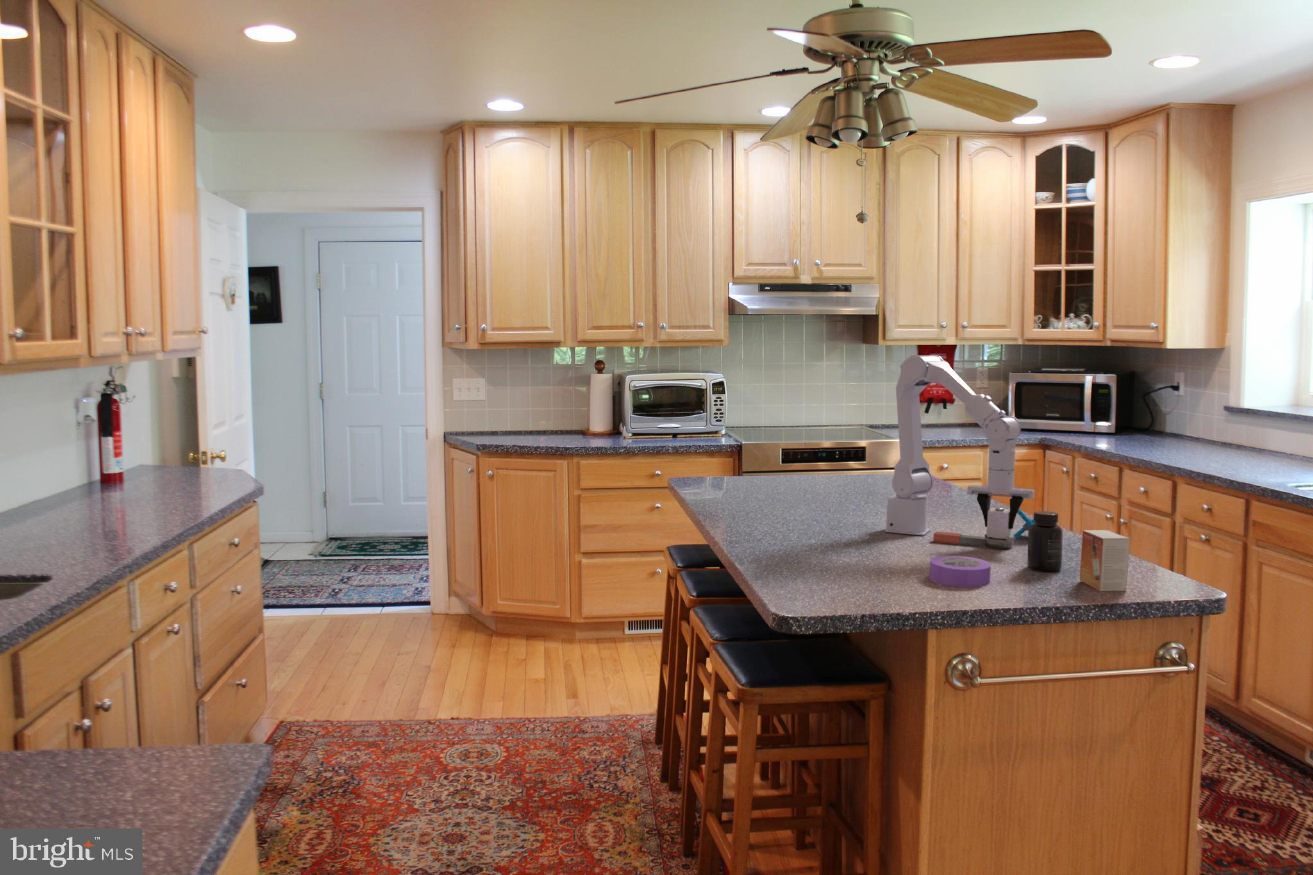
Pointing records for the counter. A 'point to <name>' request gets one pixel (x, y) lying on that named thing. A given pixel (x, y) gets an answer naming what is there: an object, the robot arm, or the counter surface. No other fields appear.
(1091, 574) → the small box
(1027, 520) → the gear
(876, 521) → the counter surface
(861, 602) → the counter surface
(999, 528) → the socket
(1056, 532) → the supplement bottle
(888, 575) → the counter surface
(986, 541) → the ratchet
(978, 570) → the masking tape
